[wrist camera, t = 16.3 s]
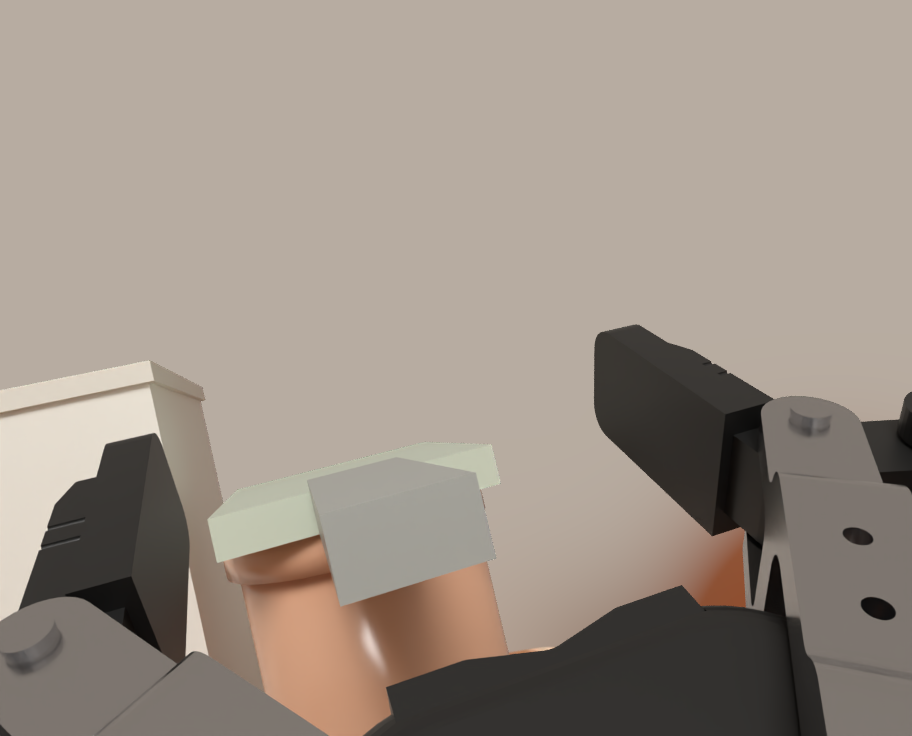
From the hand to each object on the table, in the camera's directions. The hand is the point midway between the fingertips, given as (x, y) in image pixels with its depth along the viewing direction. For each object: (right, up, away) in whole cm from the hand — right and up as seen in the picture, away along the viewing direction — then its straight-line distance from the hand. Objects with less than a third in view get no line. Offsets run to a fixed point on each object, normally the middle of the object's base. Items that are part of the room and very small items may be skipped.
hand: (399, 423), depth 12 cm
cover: (-3, -5, +15) cm, 16 cm away
